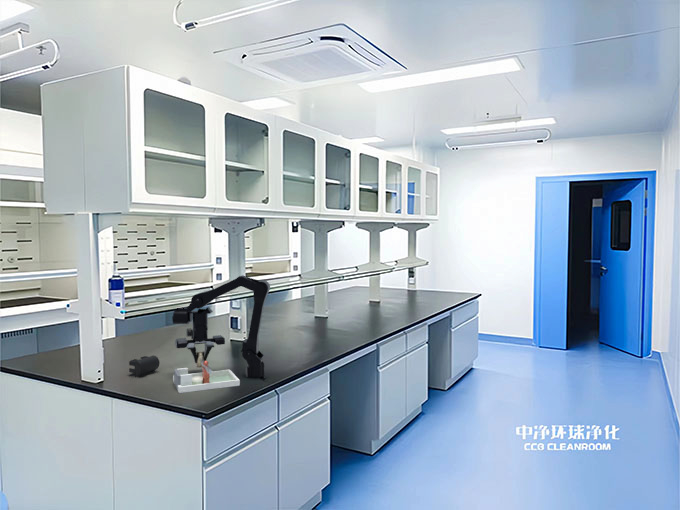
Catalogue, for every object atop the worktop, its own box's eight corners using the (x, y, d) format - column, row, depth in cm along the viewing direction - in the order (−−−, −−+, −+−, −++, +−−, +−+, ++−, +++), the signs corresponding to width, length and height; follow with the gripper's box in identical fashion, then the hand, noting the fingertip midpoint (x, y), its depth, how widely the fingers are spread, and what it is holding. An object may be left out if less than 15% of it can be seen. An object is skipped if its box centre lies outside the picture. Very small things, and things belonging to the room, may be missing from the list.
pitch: (229, 376, 198) (229, 361, 198) (239, 388, 184) (239, 371, 183) (173, 383, 188) (172, 367, 188) (178, 395, 174) (178, 378, 174)
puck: (201, 381, 187) (201, 375, 187) (204, 385, 184) (204, 378, 183) (190, 383, 185) (190, 376, 185) (192, 386, 182) (192, 380, 181)
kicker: (203, 372, 198) (203, 350, 198) (214, 387, 179) (214, 363, 179) (195, 373, 197) (195, 351, 197) (205, 388, 178) (206, 364, 177)
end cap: (141, 378, 195) (141, 361, 194) (128, 376, 197) (128, 359, 197) (159, 372, 204) (159, 356, 204) (146, 369, 207) (146, 354, 206)
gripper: (219, 319, 207) (219, 355, 207) (173, 322, 199) (173, 360, 199) (225, 323, 197) (225, 362, 197) (176, 327, 189) (177, 367, 189)
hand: (200, 362), depth 196 cm, fingers closed on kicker, 3 cm apart
